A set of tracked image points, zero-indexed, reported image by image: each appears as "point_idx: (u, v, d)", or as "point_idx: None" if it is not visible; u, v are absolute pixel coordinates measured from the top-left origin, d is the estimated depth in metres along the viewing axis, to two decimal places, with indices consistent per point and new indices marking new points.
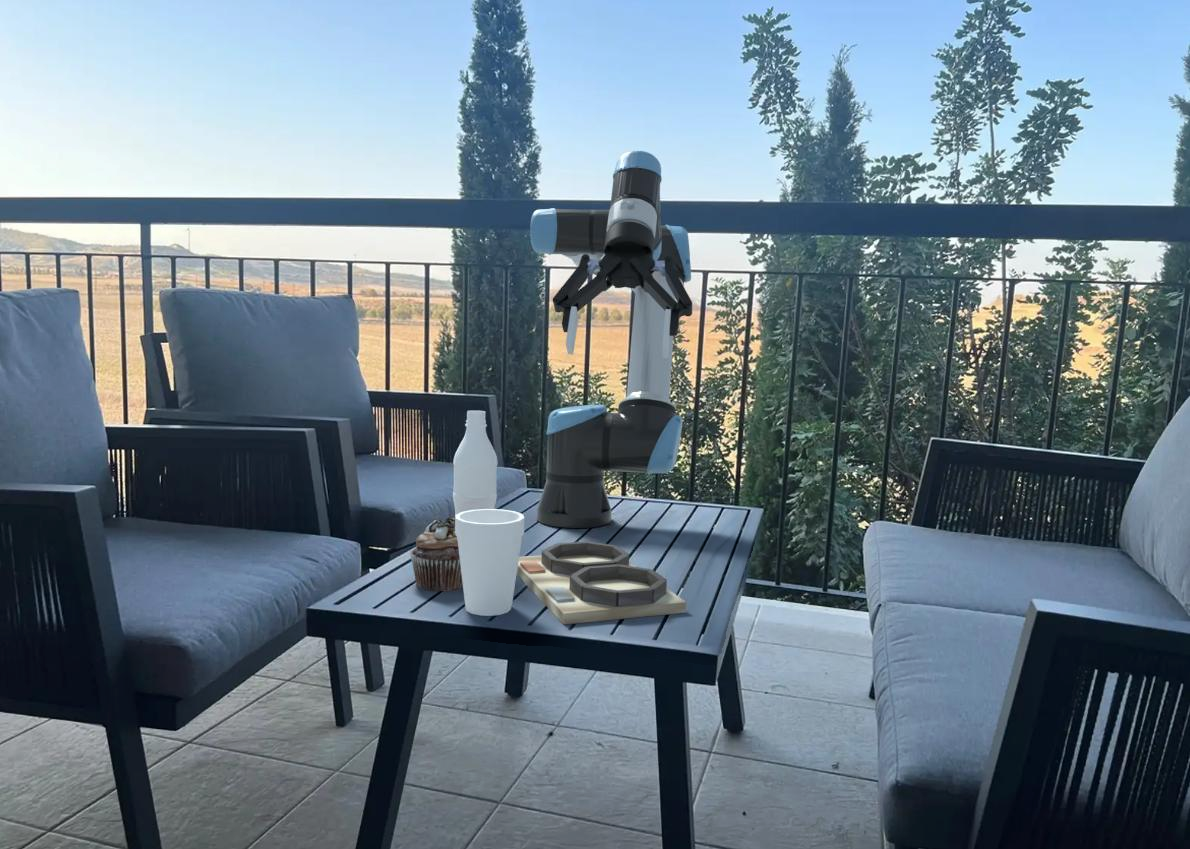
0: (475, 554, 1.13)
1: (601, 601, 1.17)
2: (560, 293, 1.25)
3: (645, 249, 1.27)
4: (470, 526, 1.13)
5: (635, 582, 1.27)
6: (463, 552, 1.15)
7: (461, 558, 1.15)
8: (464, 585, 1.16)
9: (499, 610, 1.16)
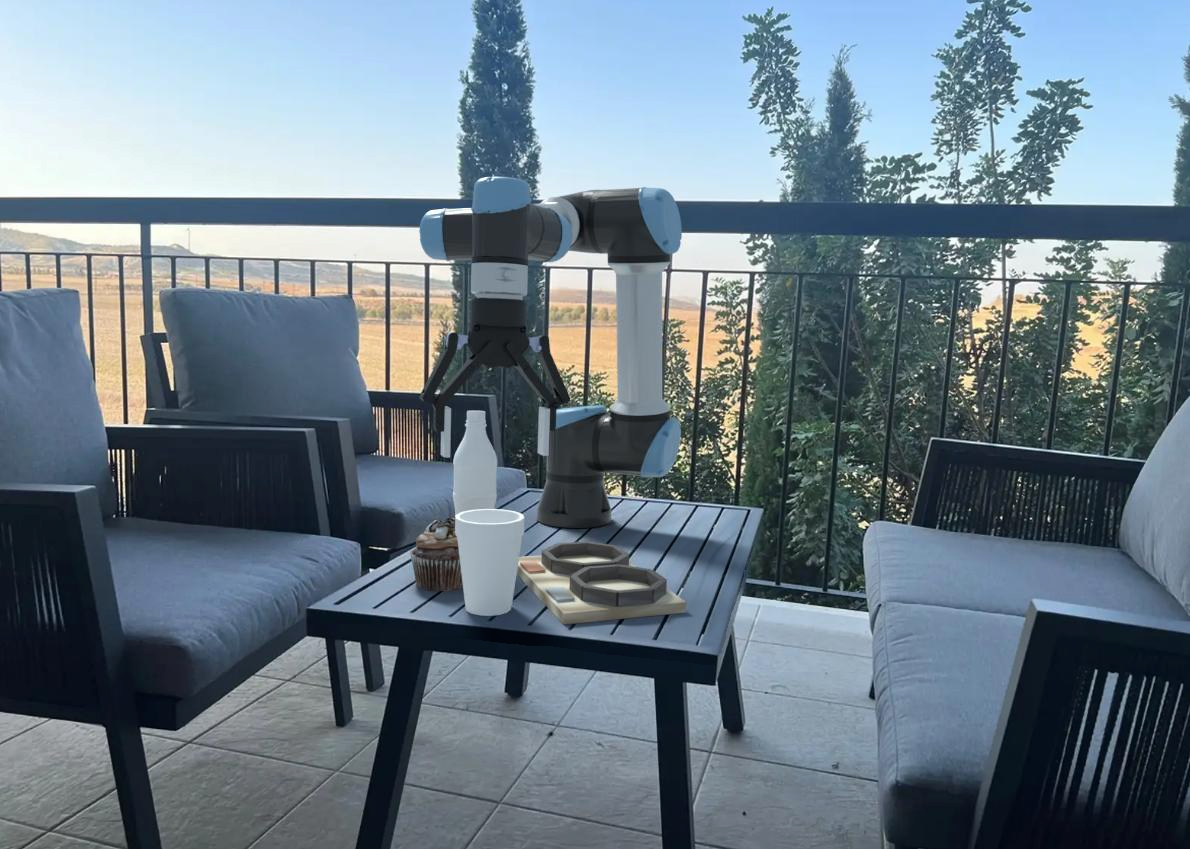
0: (475, 554, 1.13)
1: (601, 601, 1.17)
2: (431, 389, 1.11)
3: None
4: (470, 527, 1.13)
5: (635, 582, 1.27)
6: (463, 552, 1.15)
7: (461, 558, 1.15)
8: (464, 585, 1.16)
9: (499, 610, 1.16)
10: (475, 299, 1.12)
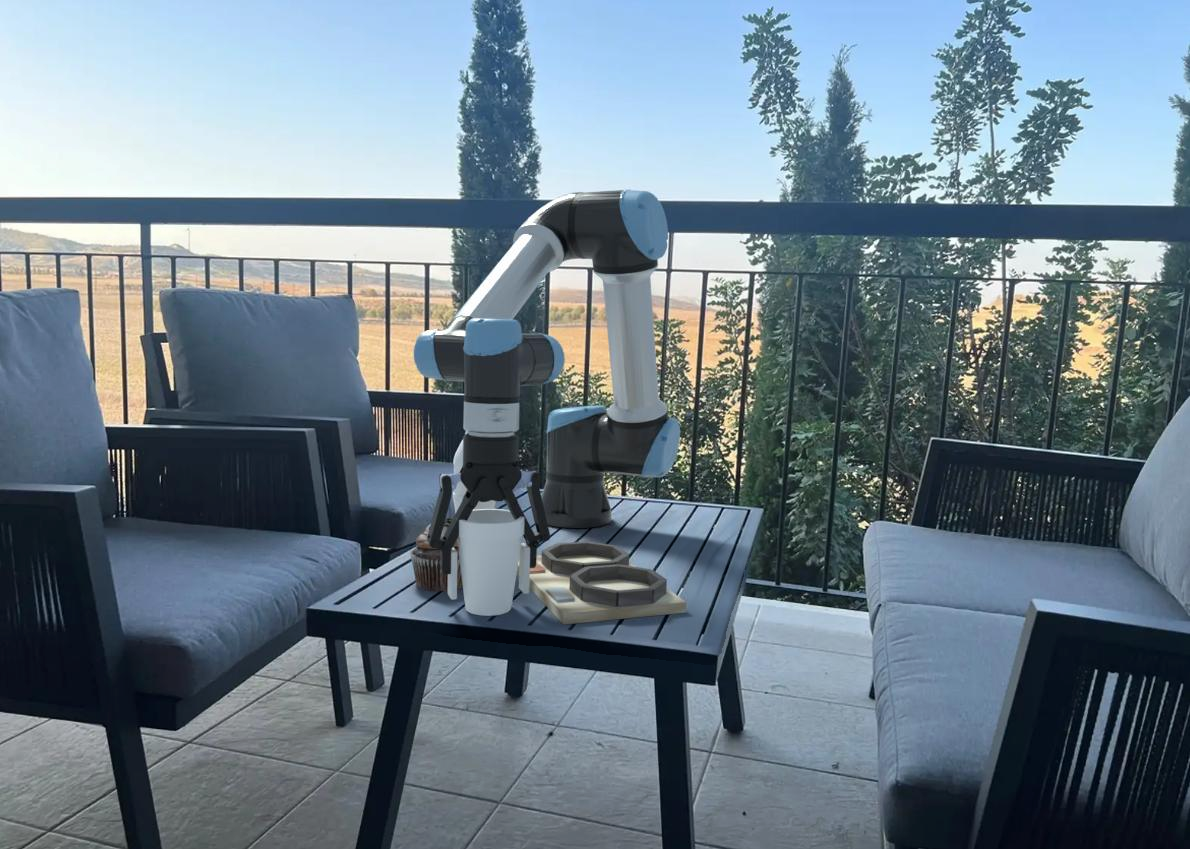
0: (475, 554, 1.13)
1: (601, 601, 1.17)
2: (436, 535, 1.13)
3: None
4: (470, 526, 1.13)
5: (635, 582, 1.27)
6: (463, 552, 1.15)
7: (461, 558, 1.15)
8: (464, 585, 1.16)
9: (499, 610, 1.16)
10: (467, 437, 1.13)
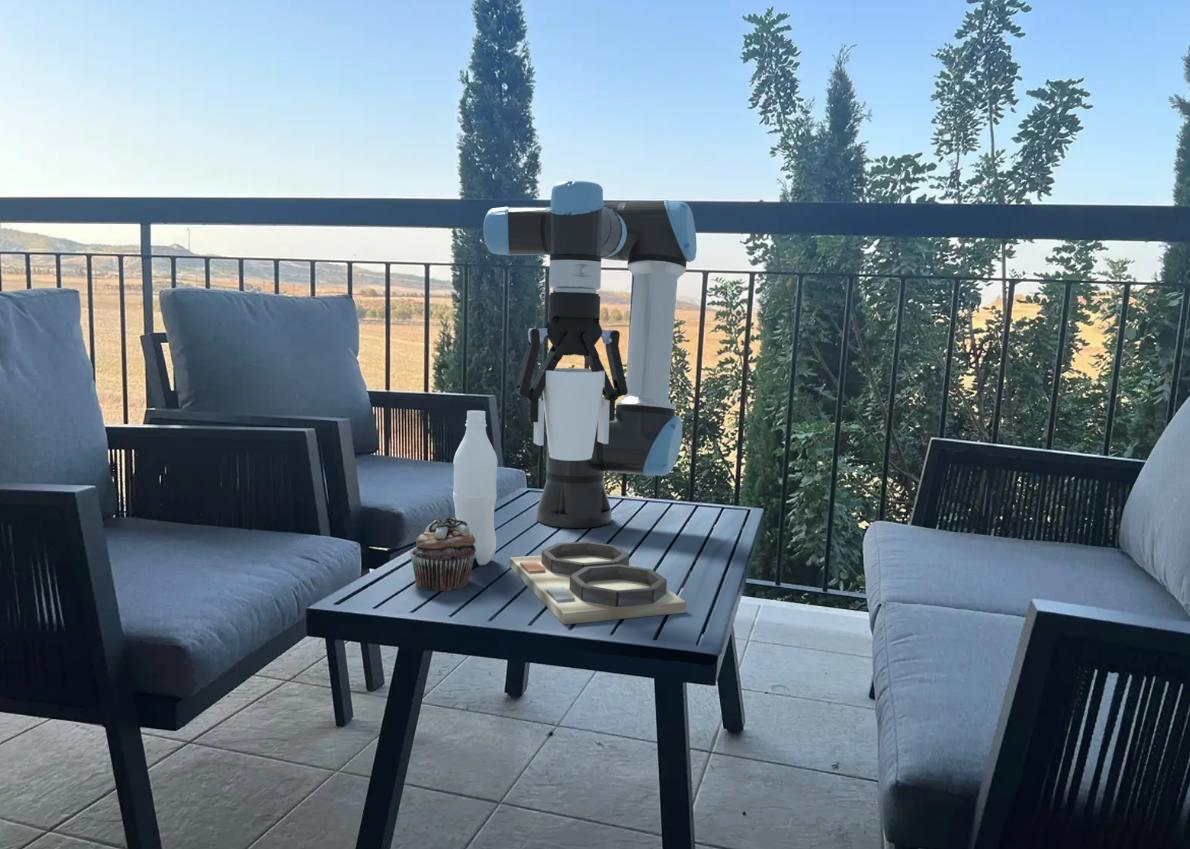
0: (561, 401, 1.22)
1: (601, 601, 1.17)
2: (525, 383, 1.22)
3: None
4: (557, 375, 1.22)
5: (635, 582, 1.27)
6: (549, 401, 1.24)
7: (547, 407, 1.24)
8: (549, 433, 1.25)
9: (582, 456, 1.25)
10: (554, 293, 1.22)
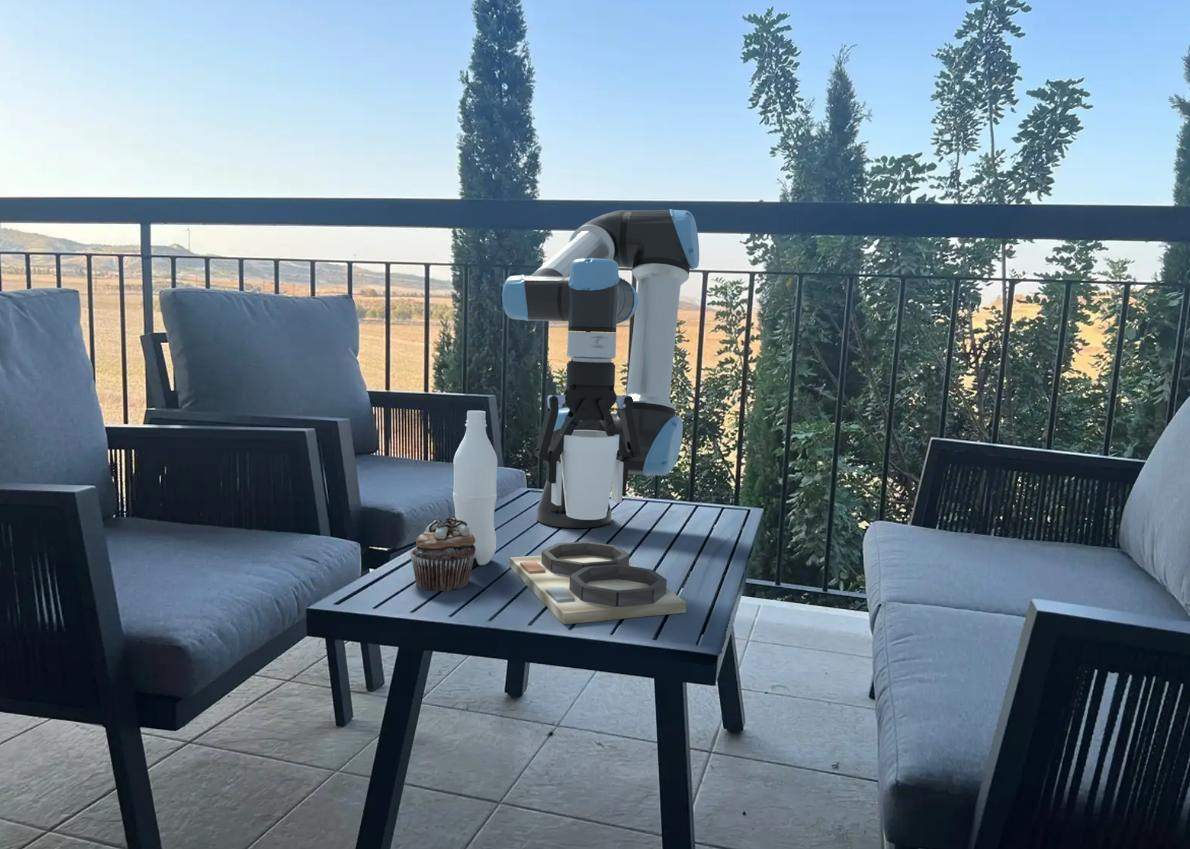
0: (578, 464, 1.30)
1: (601, 601, 1.17)
2: (544, 447, 1.30)
3: None
4: (575, 440, 1.29)
5: (635, 582, 1.27)
6: (567, 463, 1.31)
7: (564, 469, 1.32)
8: (567, 493, 1.32)
9: (598, 515, 1.32)
10: (572, 362, 1.30)
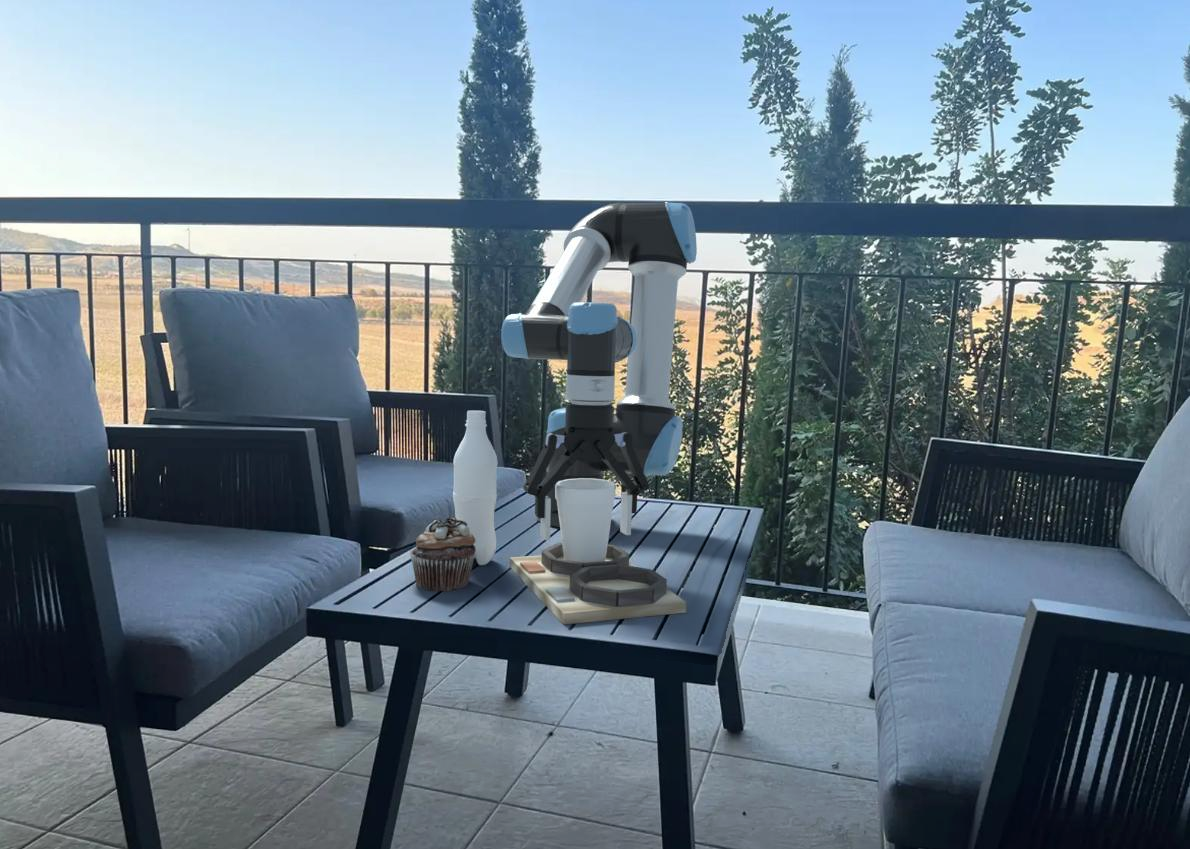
0: (576, 516, 1.31)
1: (601, 601, 1.17)
2: (534, 483, 1.30)
3: None
4: (571, 492, 1.30)
5: (635, 582, 1.27)
6: (564, 515, 1.32)
7: (562, 520, 1.33)
8: (565, 544, 1.33)
9: None
10: (571, 405, 1.31)
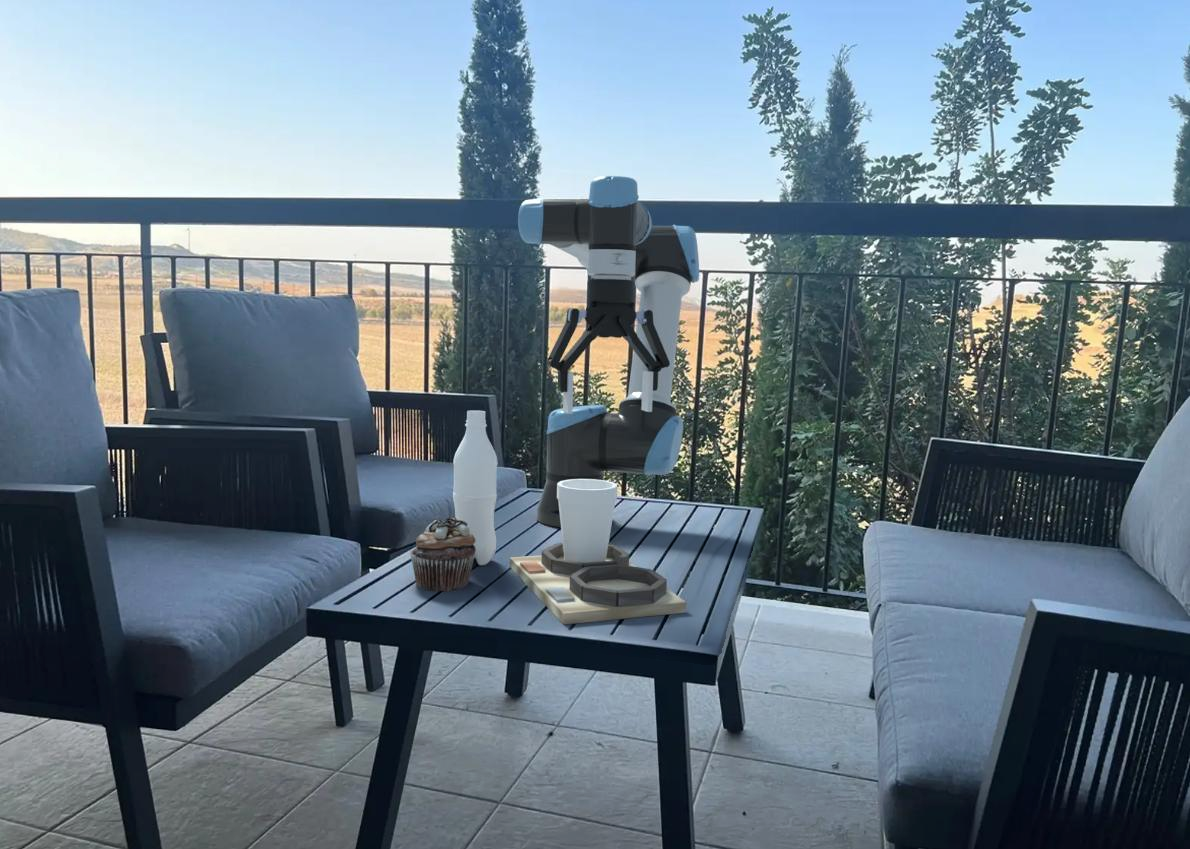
0: (577, 516, 1.31)
1: (601, 601, 1.17)
2: (557, 356, 1.32)
3: None
4: (573, 492, 1.30)
5: (635, 582, 1.27)
6: (566, 515, 1.32)
7: (563, 520, 1.33)
8: (565, 544, 1.34)
9: None
10: (592, 280, 1.33)
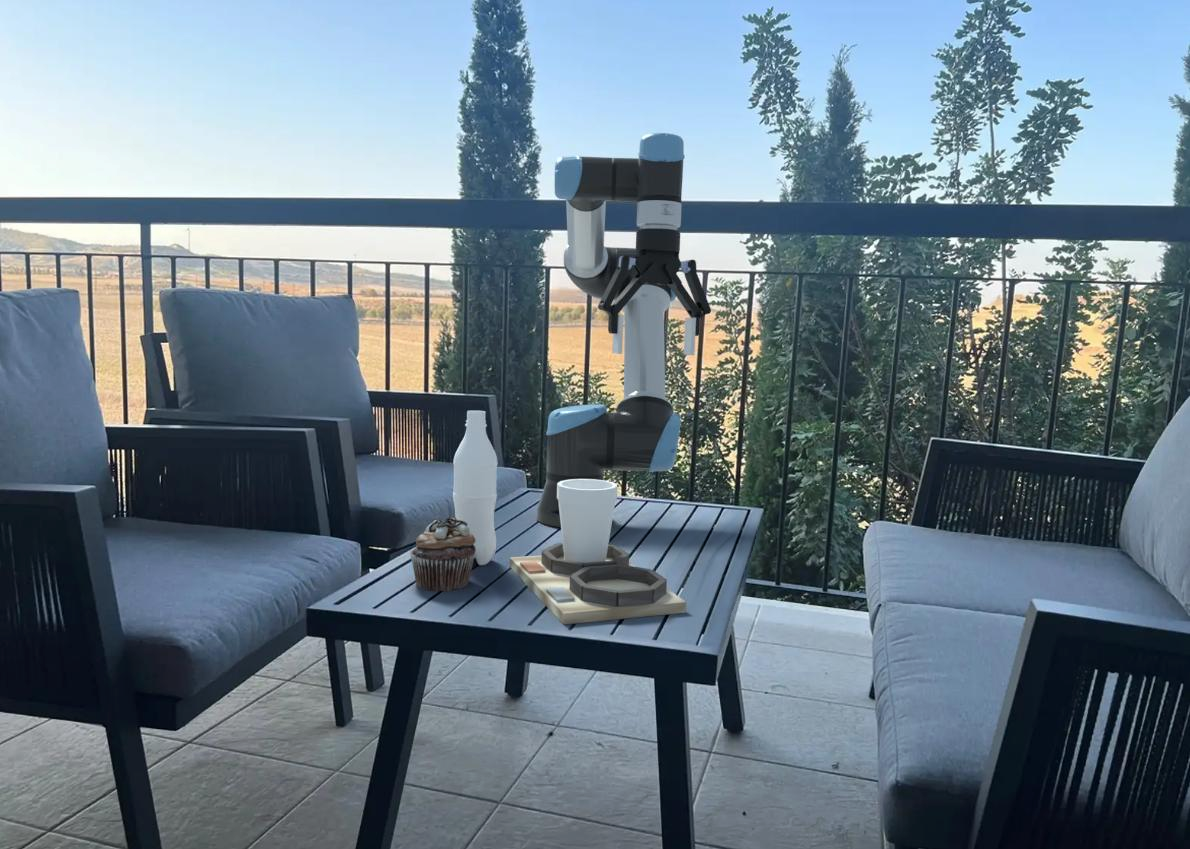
0: (577, 516, 1.31)
1: (601, 601, 1.17)
2: (609, 300, 1.42)
3: None
4: (573, 492, 1.30)
5: (635, 582, 1.27)
6: (566, 515, 1.32)
7: (563, 520, 1.33)
8: (565, 544, 1.34)
9: None
10: (642, 229, 1.43)
